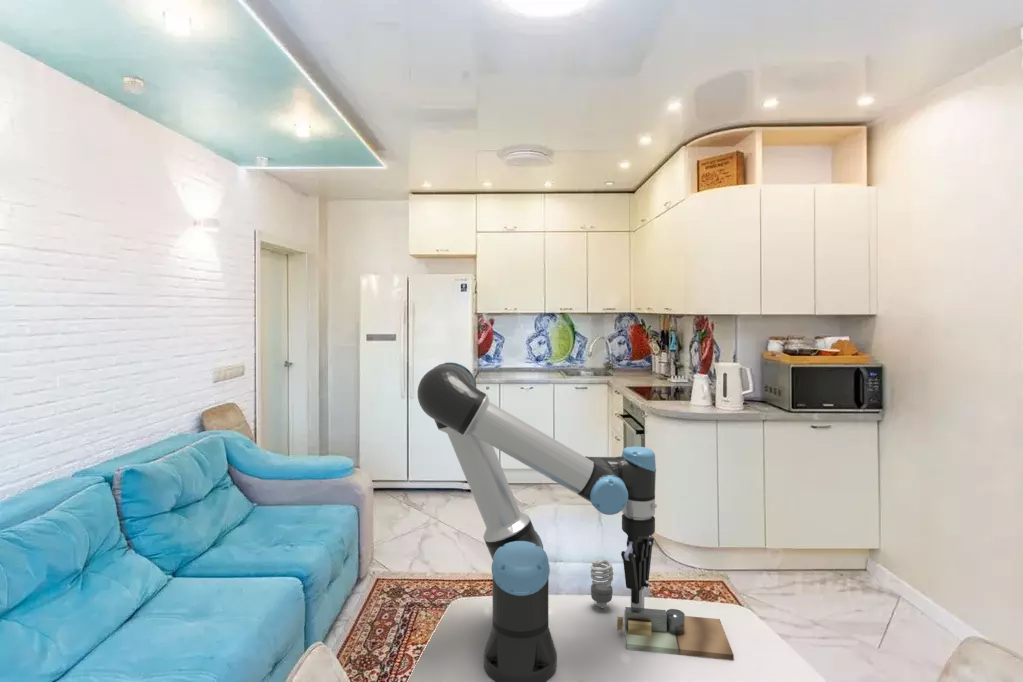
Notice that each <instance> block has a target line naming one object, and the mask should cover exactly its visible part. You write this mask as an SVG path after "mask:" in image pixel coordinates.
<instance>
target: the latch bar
mask: <svg viewBox="0 0 1023 682" xmlns="http://www.w3.org/2000/svg"><path fill="white" fill-rule="evenodd" d="M624 613H625V616H624V625H625V624H626V628H628V620H630V621H641V622H651V630H652V631H663V632H669V633H671V634H673V635H682V634H683V633H684V623H685V616H686V614H685V613H684V611H683V610H680V609H677V608H669V609H667V610H666V609H658V608H645V607H644V608H634V607H631V606H625V610H624Z"/></svg>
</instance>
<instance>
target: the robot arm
mask: <svg viewBox="0 0 1023 682" xmlns="http://www.w3.org/2000/svg"><path fill="white" fill-rule="evenodd" d="M416 395H417V400H418V403H419V406H420V407H421V409H422V411H423V412H424V413H425V414H426V415H427V416H428V417H429V418H431V419H433V420H434V423H435V425H436V427H437V430H439V431H441V432H443V433H445V434H447V436H448V439H449V440H450V443H451V446H452V448H453V451H454V454H455V455H456V458H457V460H458V463H459V465H460V468H461V470H462V472H463V474H464V477H465V480H466V483H467V484H468V486H469V488H470V491H471V494H472V497H473V499H474V501H475V503H476V506H477V508H478V511H479V513H480V516H481V518H482V521H483V522H484V526H485V527H486V529H485V531H484V534H483V540H484V542H485V544H486V548H487V550H488V553H489V555H490V557H491V560H492V563H491V574H492V626H491V629H490V633H489V635H488V639H487V642H486V645H485V648H484V653H483V667H484V670H485V672H486V673H487V675H488V677H490V678H491V679H492V680H494V681H496V682H546V681H547V680H549V679H550V678H551V677H553V676H554V675H555V673H556V670H557V665H558V663H557V661H558V660H557V659H558V655H557V654H558V653H557V650H556V646H555V643H554V639H553V636H552V634H551V631H550V628H549V588H550V587H549V578H550V571H551V570H550V569H551V568H550V563H549V556H548V555H547V552H546V551H545V550H544V545H543V544H544V543H543V541H542V538H541V537H540V535H539V534H538V532H537V531H536V530H535V527H534V525H533V523H532V519H531V517H530V516H529V515H528V514H525V513H523V512H521V510H520V508H519V505H518V504H517V500H516V499H515V495H514V494H513V491H512V488H511V487H510V484H509V481H508V480H507V477H506V474H505V473H504V472H505V471H504V469H503V467H502V465H501V462H500V460H499V457H498V454H497V453H496V450H495V449H497V450H499V451H500V452H503V454H505V455H507V456H509V457H511V458H513V459H514V460H517V461H518V462H520V463H521V464H524V465H526V467H529V468H530V469H532V470H533V471H536V472H538V473H539V474H541V475H543V476H545V477H546V478H548V479H550V480H551V481H553V482H555V483H556V484H558V485H560V486H562V487H564V488H565V489H567V490H569V491H570V492H573V493H574V494H576V495H577V496H579V497H581V498H582V499H583V500H586V501H588V502H589V503H591V505H592V506H593V508H594V509H596V510H597V511H598V512H599V513H601V514H603V515H607V516H614V515H616V514H619V513H622V515H621V529H622V531H623V532H624V533H625V534H626V536H627V540H626V547H627V548H626V549H625V551H624V550H622V551H621V552H620V555H621V558H622V563H623V572H624V580H625V581H624V582H625V588H626V589H630V607H634V608H645V588H646V589H647V588H648V587H649V586H650V583H648V582H647V581H649V580H650V574H651V573H650V572H651V571H650V570H651V564H652V563H651V562H652V561H651V560H652V553H653V546H654V541H655V539H654V537H653V536H652V535H654V534H655V532H656V517H655V514H656V508H657V506H658V504H656V477H657V476H656V475H657V474H656V473H657V467H656V466H657V465H656V453H655V452H654V451H653V450H652V449H651V448H648V447H644V446H636V445H635V446H634V445H633V446H627V447H625V448H623V450H622V453H621V456H588V455H585V456H584V455H583V454H581V453H579V452H577V451H575V450H574V449H572V448H570V447H569V446H567V445H565V444H564V443H562V442H560V441H559V440H557V439H555V438H553V437H551V436H549V435H548V434H546V433H545V432H542V431H541V430H539V429H537V428H536V427H533V426H532V425H530V424H529V423H526V422H525V421H523V420H522V419H520V418H518V417H516V416H515V415H514V414H511V413H510V412H508V411H506V410H505V409H502V408H501V407H500V406H497V405H496V404H494V403H492V402H491V401H490V399H489V395H488V394H487V393H485V392H484V391H481V390H480V389H478V388H477V382H476V378H475V377H474V375H473V373H472V372H471V371H470V369H468V368H467V367H466V366H465V365H463V364H460V363H456V362H449V361H448V362H444V363H441V364H438V365H436V366H434V367H433V368H432V369H430V370H428V371H427V372H426V373H425V374H424V375H423V376H422V378H421V379H420V381H419V384H418V386H417V394H416Z"/></svg>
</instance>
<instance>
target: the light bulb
mask: <svg viewBox="0 0 1023 682" xmlns="http://www.w3.org/2000/svg"><path fill="white" fill-rule="evenodd" d="M591 564H592V565H590V578H591V583H592V584H591V585H590V586H591V587H590V595H591V596H590V597H591V599H592V600H593V601H594V602H595V603H596V606H597V607H599V608H600V609H603V608H606V607H607V604H608V603H609V602H611V601H612V599H613V592H614V591H613V586H612V582H613V580H614V568H613V565H612V563H611V562H610V561H609V560H608V559H594V560H592V561H591Z"/></svg>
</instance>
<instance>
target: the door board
mask: <svg viewBox="0 0 1023 682" xmlns="http://www.w3.org/2000/svg"><path fill="white" fill-rule="evenodd" d="M624 617H625V612H624ZM624 617H623V616H617V617H616V620H617V621H616V624H617V625H616V627H617V628H616V630H617V631H623V630H624V629H625V645H626V650H631V651H632V650H633V651H640V652H649V653H657V654H658V653H661V654H669V655H680V656H689V657H699V658H708V659H716V660H725V661H726V660H728V661H734V656H735V655H734V652H733V650H732V648H731V644H730V642H729V640H728V636H727V635H726V632H725V629H724V627H723V624H722V621H721V620H720V618H712V617H711V618H710V617H702V616H690V615H685V623H684V633H683V634H682V635H673V634H671V633H669V632H663V631H652V630H651V622H641V621H630V620H628V628H626V624H625V623H623V622H624V621H623V620H624ZM624 627H625V628H624Z"/></svg>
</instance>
